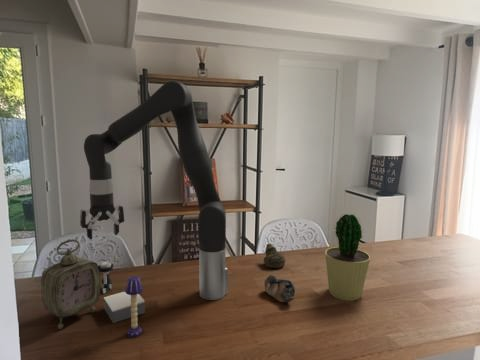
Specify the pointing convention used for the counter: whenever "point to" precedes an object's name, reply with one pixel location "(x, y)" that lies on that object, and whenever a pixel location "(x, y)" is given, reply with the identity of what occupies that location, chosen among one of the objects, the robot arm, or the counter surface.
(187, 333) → the counter surface
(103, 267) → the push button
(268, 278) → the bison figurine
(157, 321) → the counter surface
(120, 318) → the plinth
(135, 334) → the toy lamp
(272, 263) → the seashell
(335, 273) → the potted cactus
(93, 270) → the tabletop clock
